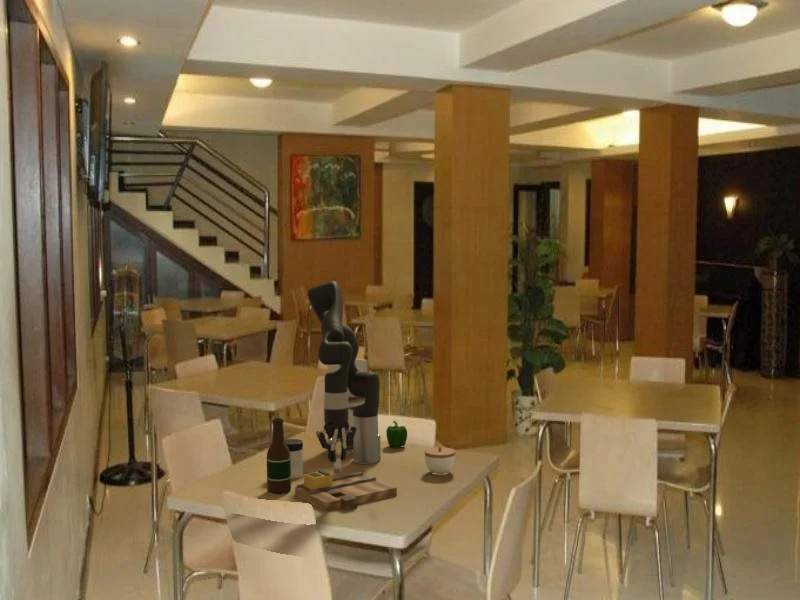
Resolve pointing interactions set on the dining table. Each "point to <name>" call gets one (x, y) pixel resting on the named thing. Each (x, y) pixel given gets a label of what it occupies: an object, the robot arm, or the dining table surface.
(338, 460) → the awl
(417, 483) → the dining table surface
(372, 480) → the subfloor panel
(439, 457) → the lidded jar
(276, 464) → the beer bottle
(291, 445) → the jar
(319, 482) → the stud finder
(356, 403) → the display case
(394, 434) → the bell pepper
